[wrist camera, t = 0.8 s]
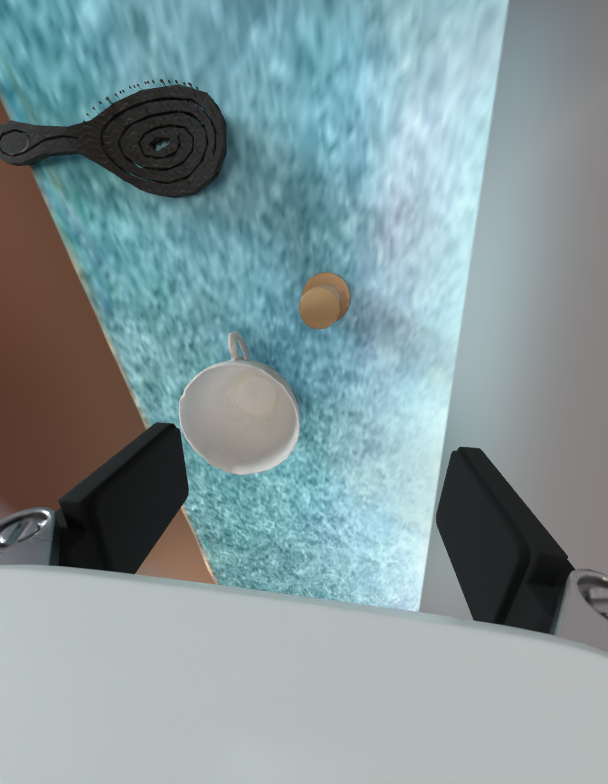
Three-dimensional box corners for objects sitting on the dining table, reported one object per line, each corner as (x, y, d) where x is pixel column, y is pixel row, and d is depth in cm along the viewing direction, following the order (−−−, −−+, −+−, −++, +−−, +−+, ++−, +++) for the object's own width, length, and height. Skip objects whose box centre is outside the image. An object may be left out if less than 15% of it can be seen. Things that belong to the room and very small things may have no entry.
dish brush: (301, 280, 32) (274, 282, 19) (343, 267, 31) (346, 260, 18) (312, 322, 33) (294, 351, 20) (353, 311, 32) (362, 334, 19)
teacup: (309, 439, 39) (302, 478, 31) (218, 438, 40) (190, 474, 33) (304, 322, 33) (293, 335, 26) (198, 326, 35) (160, 339, 27)
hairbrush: (-51, 80, 26) (214, 59, 23) (-4, 102, 30) (233, 87, 26) (-16, 190, 29) (222, 187, 26) (23, 199, 33) (238, 197, 29)
